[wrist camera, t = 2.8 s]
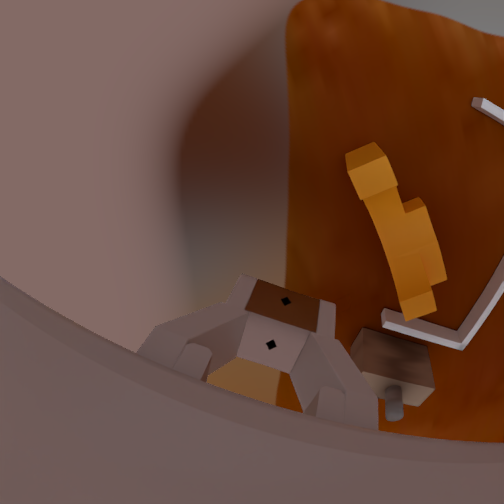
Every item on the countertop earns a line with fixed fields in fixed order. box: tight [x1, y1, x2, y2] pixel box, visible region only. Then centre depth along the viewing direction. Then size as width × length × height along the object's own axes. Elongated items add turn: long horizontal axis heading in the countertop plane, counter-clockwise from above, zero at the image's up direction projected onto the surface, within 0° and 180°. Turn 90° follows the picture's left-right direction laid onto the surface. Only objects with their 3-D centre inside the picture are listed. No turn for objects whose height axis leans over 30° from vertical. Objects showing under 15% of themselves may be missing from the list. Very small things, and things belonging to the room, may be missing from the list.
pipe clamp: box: [345, 142, 447, 321], centre depth 22 cm, size 12×4×6 cm, turn 30°
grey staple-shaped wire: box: [381, 97, 504, 351], centre depth 22 cm, size 10×22×2 cm, turn 167°
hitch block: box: [350, 327, 435, 421], centre depth 27 cm, size 8×3×9 cm, turn 77°
